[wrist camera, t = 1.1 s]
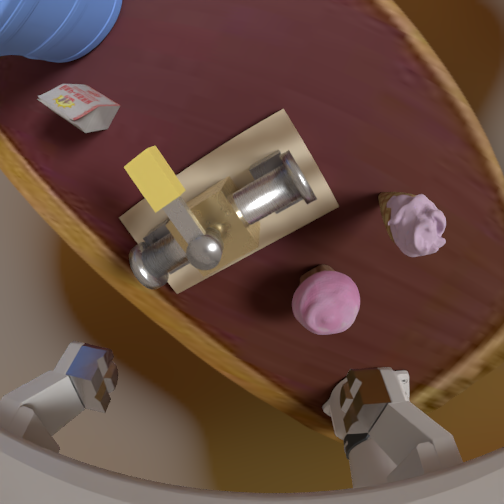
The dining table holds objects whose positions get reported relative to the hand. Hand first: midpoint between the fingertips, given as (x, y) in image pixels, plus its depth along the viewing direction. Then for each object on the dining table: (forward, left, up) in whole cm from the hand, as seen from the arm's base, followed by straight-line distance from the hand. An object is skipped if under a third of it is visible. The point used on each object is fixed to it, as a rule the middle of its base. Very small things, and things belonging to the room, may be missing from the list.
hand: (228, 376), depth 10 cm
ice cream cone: (-10, -13, -32) cm, 36 cm away
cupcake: (-17, 0, -32) cm, 37 cm away
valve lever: (+3, +6, -20) cm, 21 cm away
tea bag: (+21, +13, -32) cm, 41 cm away
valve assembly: (-1, +6, -32) cm, 33 cm away
